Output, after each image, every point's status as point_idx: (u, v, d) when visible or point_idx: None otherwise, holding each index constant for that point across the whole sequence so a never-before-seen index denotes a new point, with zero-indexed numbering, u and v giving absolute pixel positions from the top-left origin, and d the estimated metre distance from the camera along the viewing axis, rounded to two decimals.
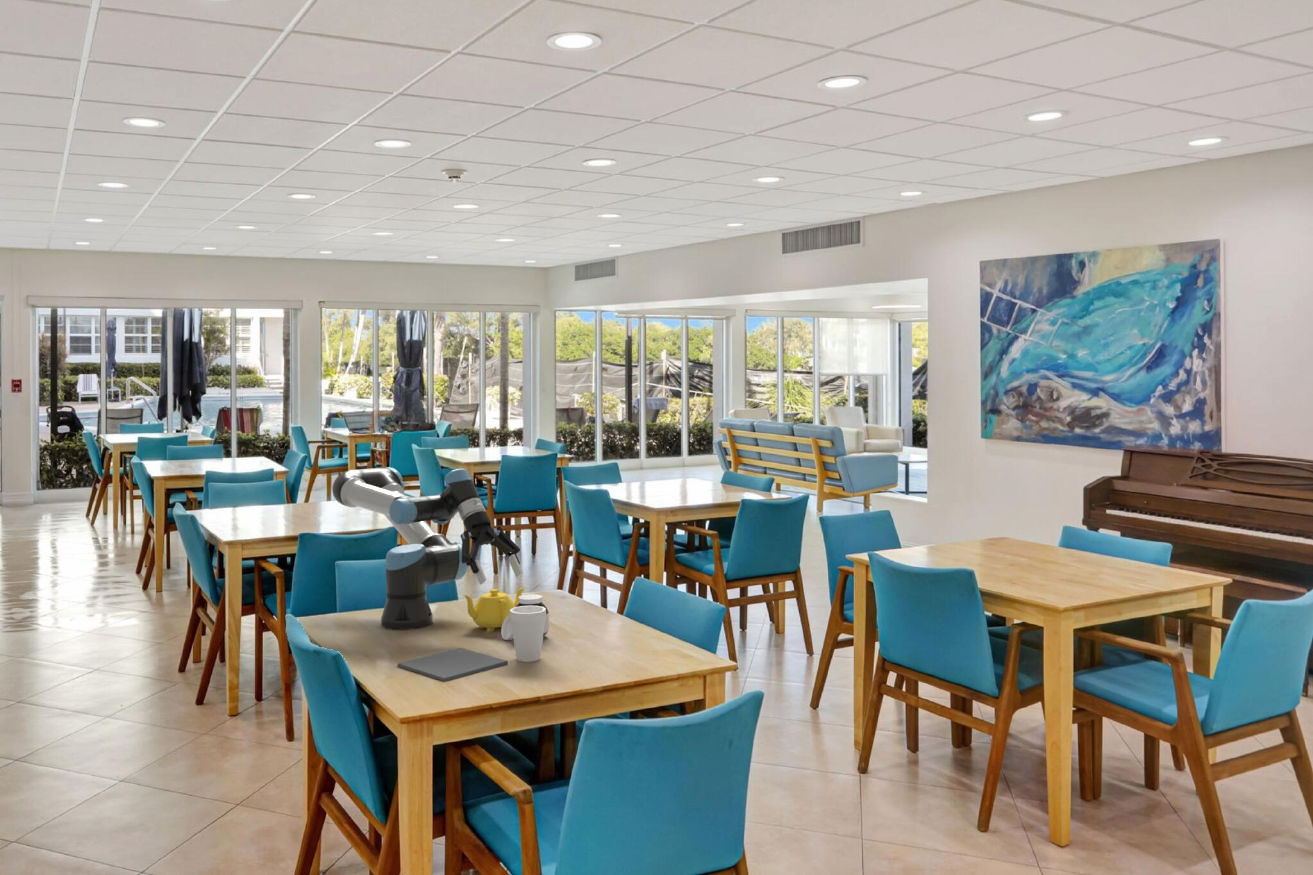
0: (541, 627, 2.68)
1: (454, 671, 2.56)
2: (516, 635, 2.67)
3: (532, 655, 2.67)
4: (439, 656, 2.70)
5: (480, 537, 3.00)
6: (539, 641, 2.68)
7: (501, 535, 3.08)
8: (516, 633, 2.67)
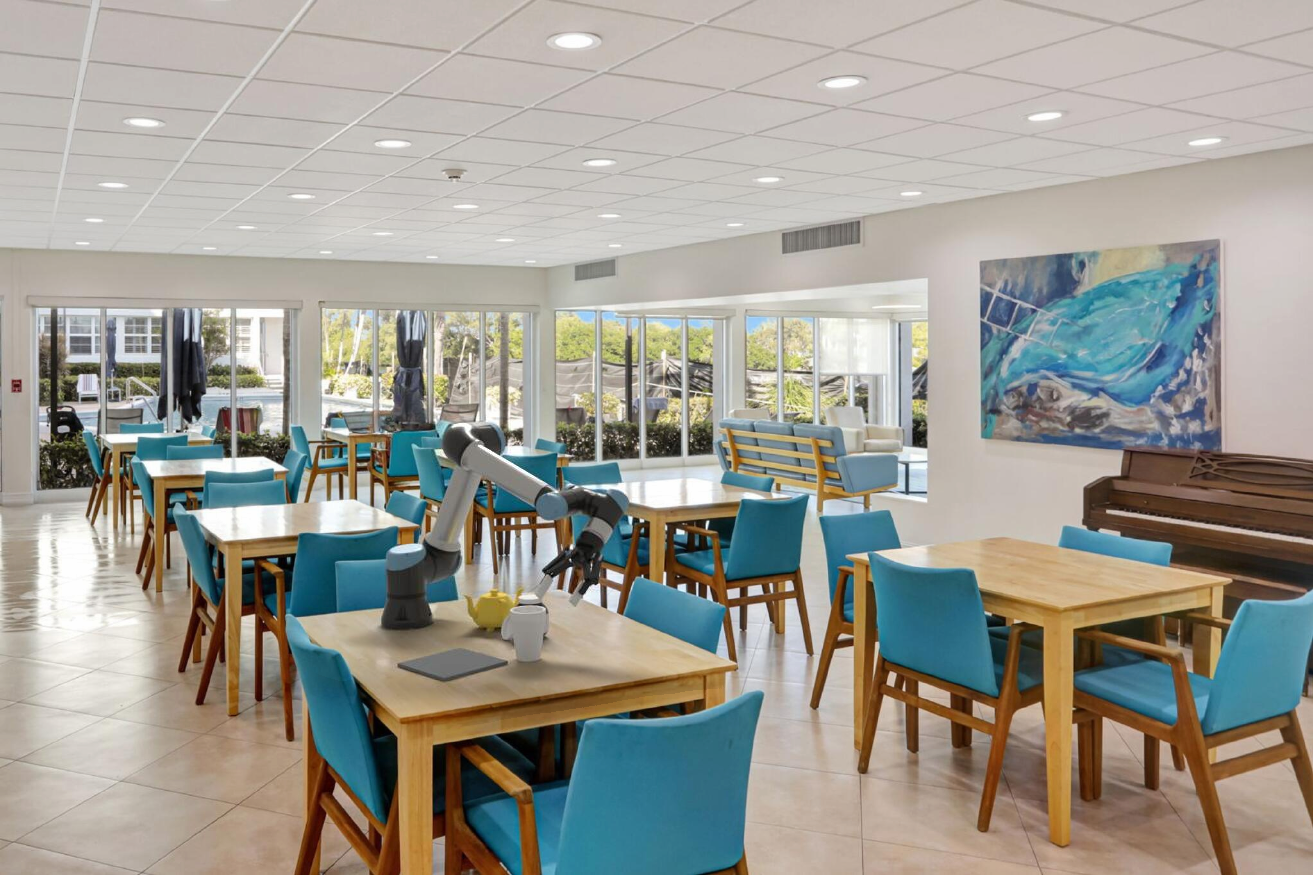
0: (541, 627, 2.68)
1: (454, 671, 2.56)
2: (516, 635, 2.67)
3: (532, 655, 2.67)
4: (439, 656, 2.70)
5: None
6: (539, 641, 2.68)
7: None
8: (516, 633, 2.67)
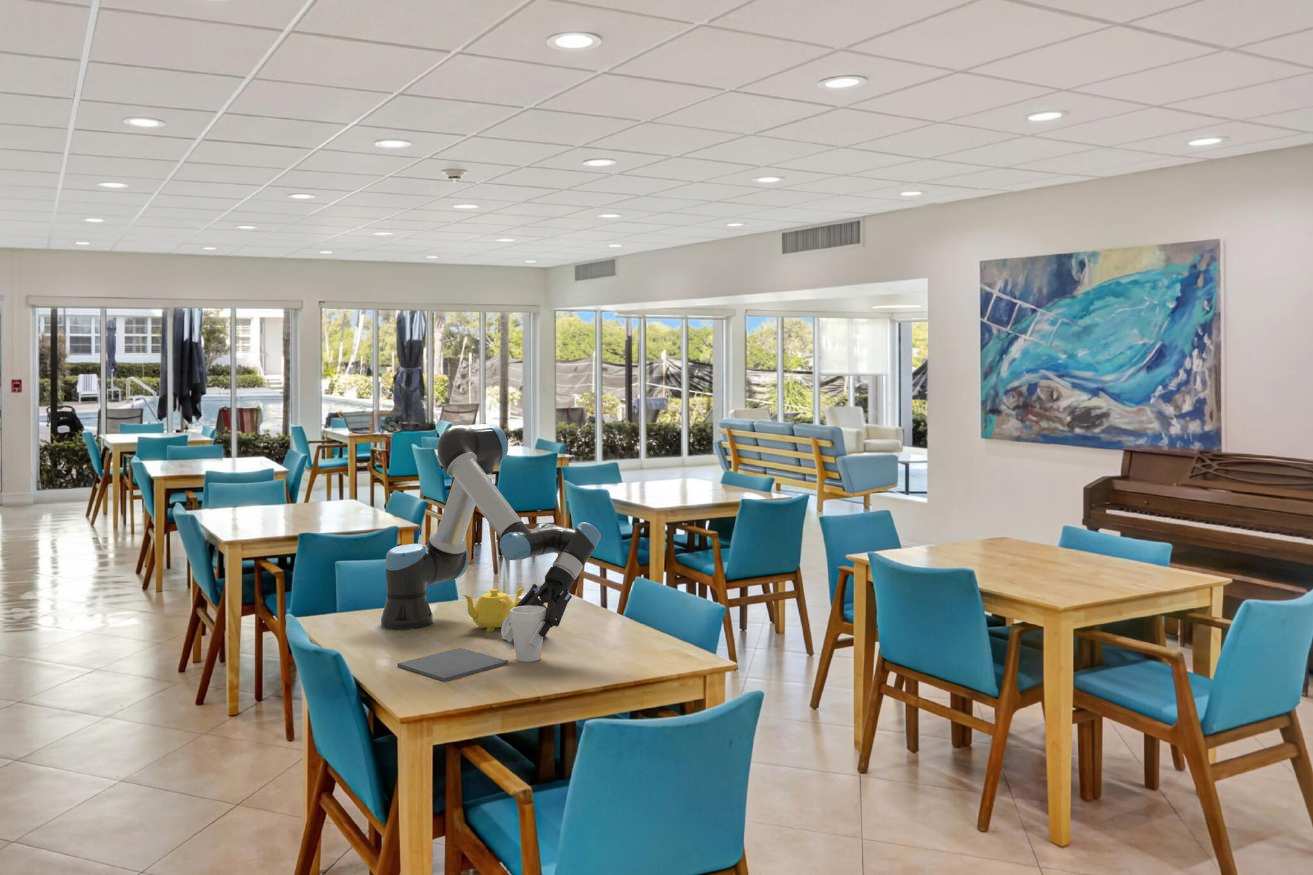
0: None
1: (454, 671, 2.56)
2: (516, 635, 2.67)
3: (532, 655, 2.67)
4: (439, 656, 2.70)
5: None
6: None
7: None
8: (516, 633, 2.67)
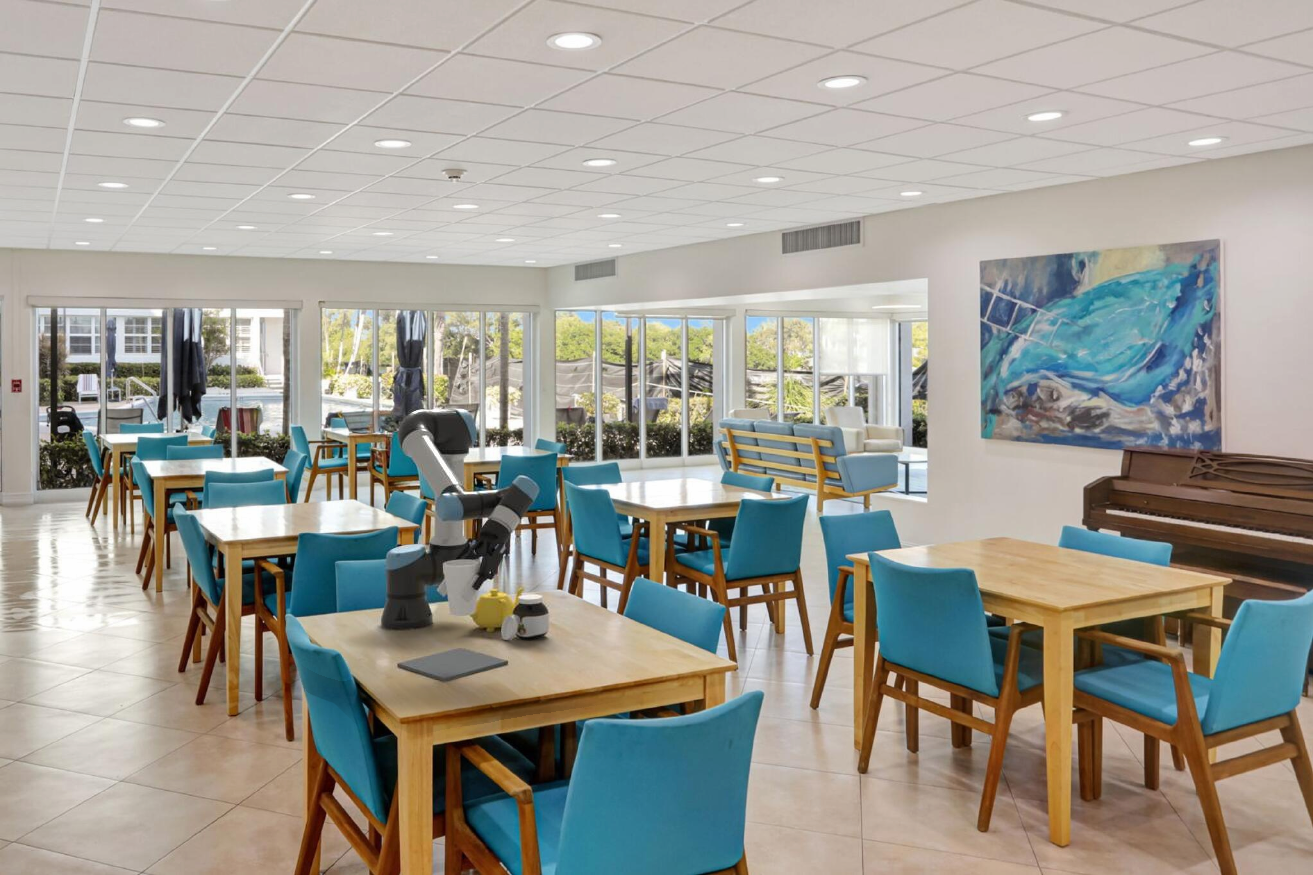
0: None
1: (454, 671, 2.56)
2: (449, 589, 2.61)
3: (466, 609, 2.61)
4: (439, 656, 2.70)
5: None
6: None
7: None
8: (449, 587, 2.60)
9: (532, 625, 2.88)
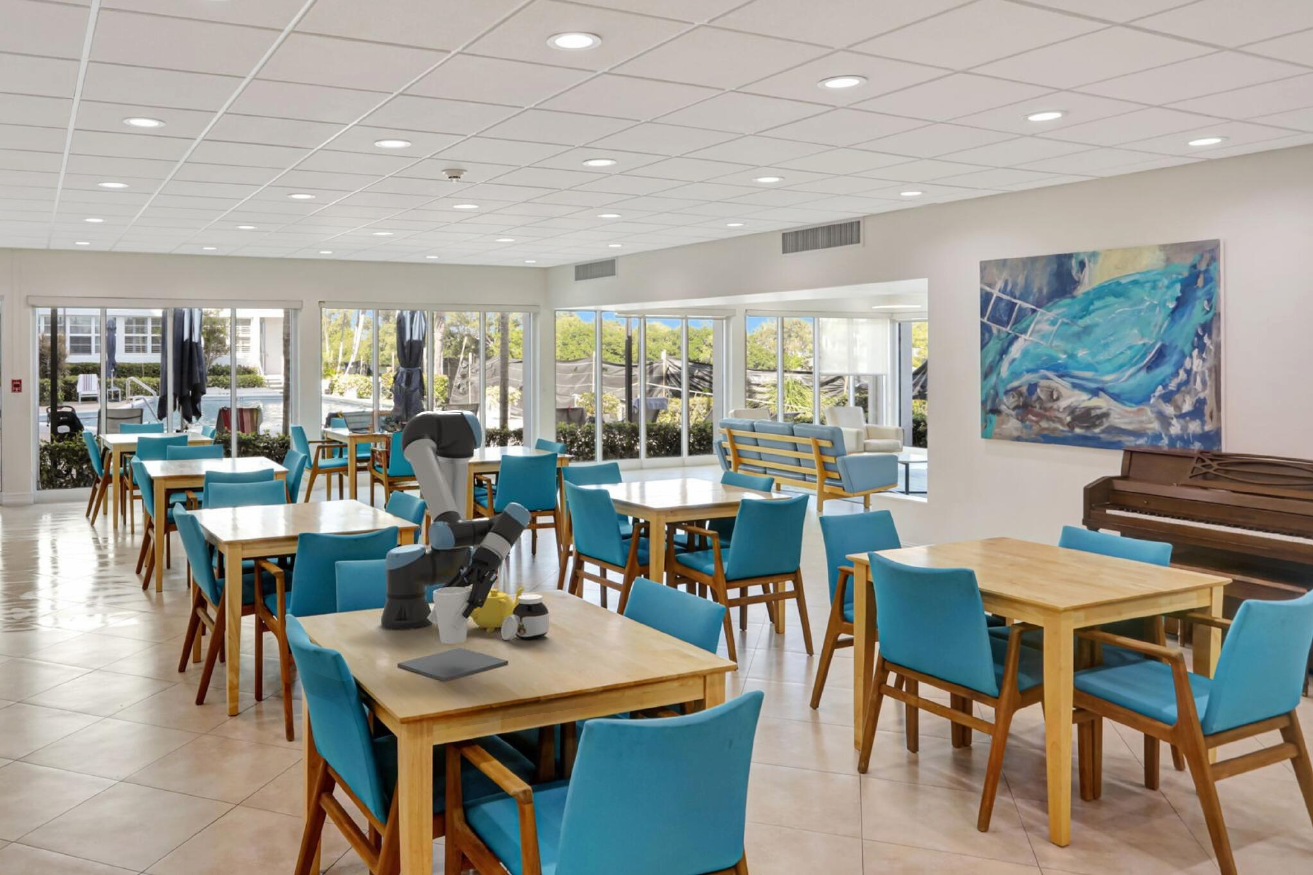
0: None
1: (454, 671, 2.56)
2: (439, 617, 2.60)
3: (456, 637, 2.60)
4: (439, 656, 2.70)
5: None
6: None
7: None
8: (439, 614, 2.60)
9: (532, 625, 2.88)
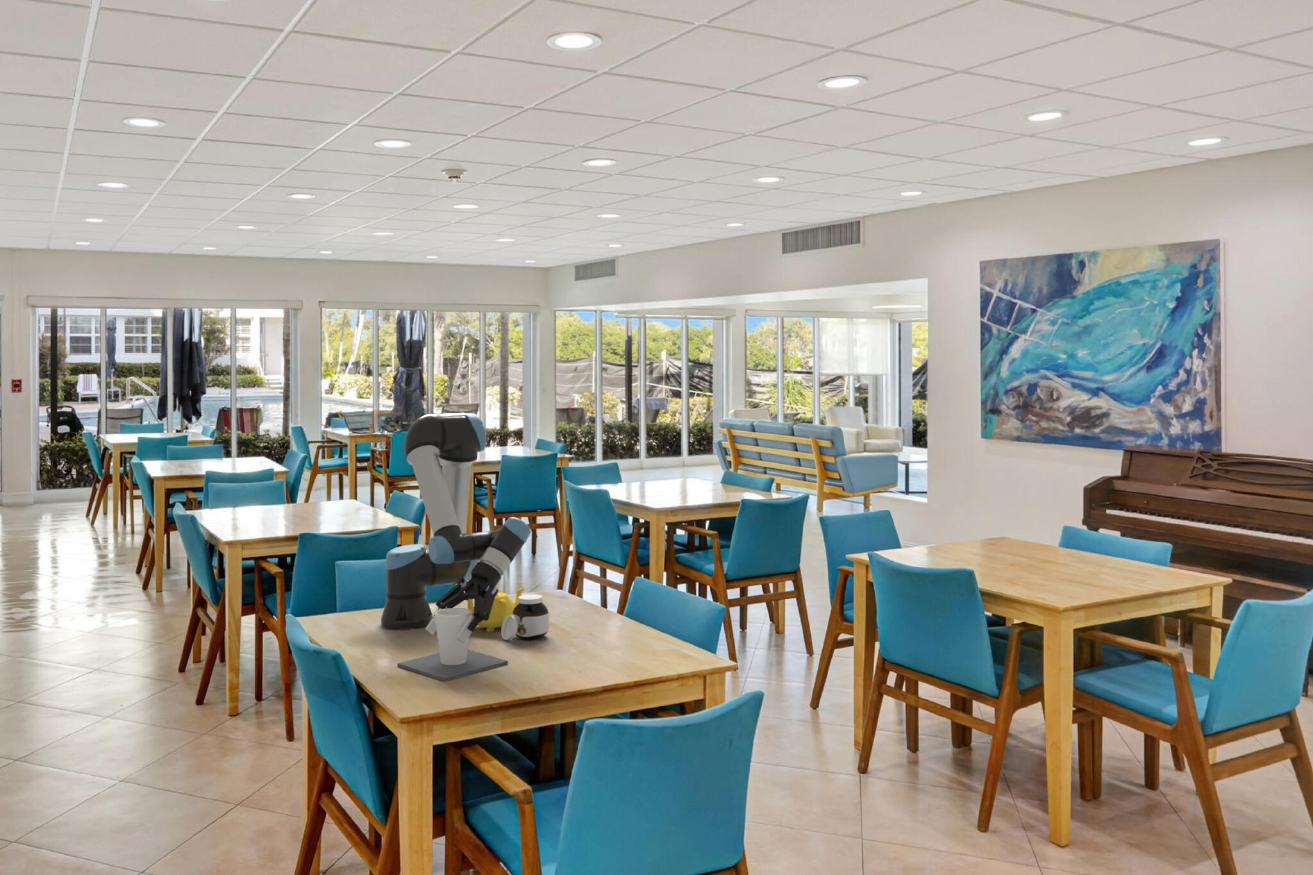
0: None
1: (454, 671, 2.56)
2: (440, 638, 2.61)
3: (456, 658, 2.61)
4: (439, 656, 2.70)
5: None
6: (464, 644, 2.62)
7: None
8: (440, 636, 2.61)
9: (532, 625, 2.88)
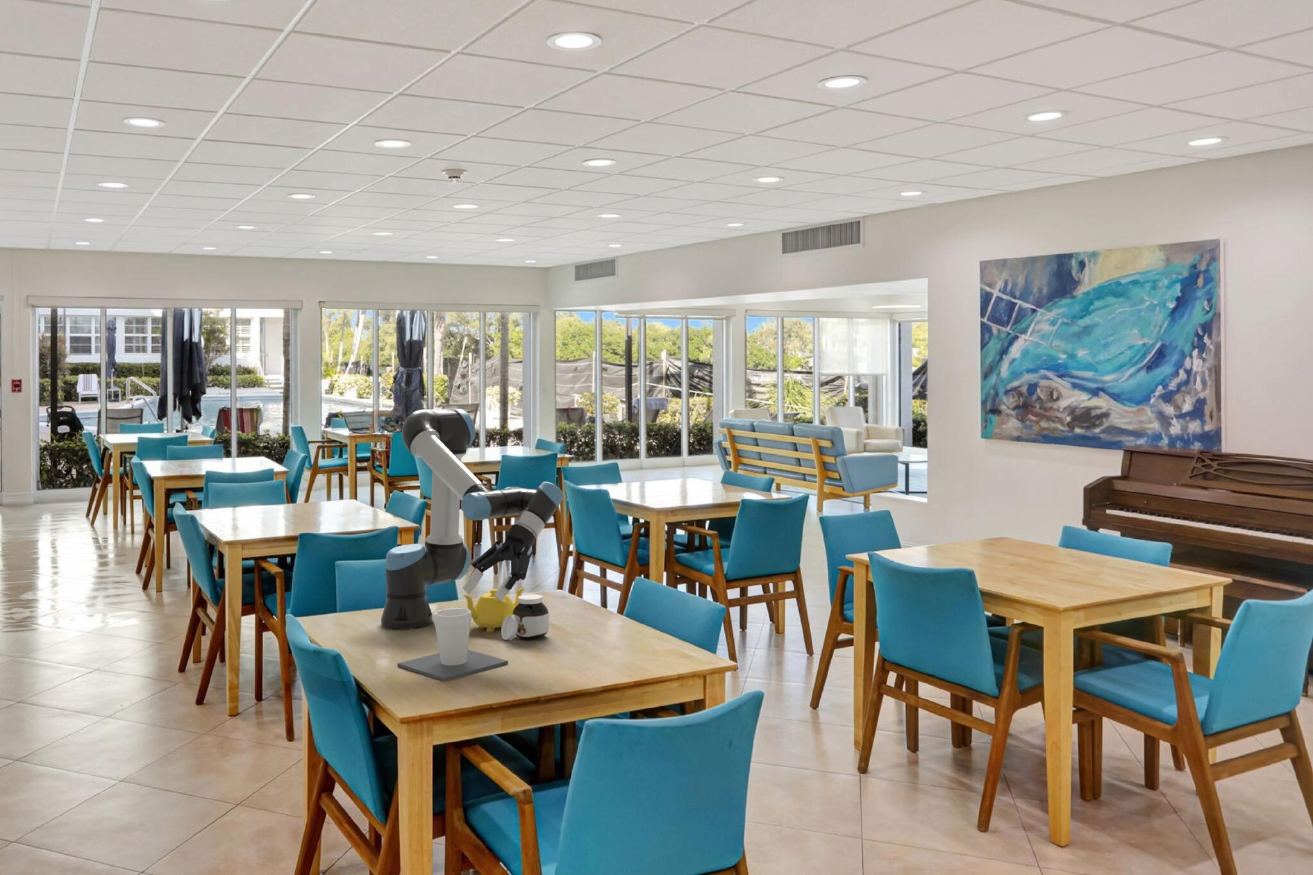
0: (466, 630, 2.62)
1: (454, 671, 2.56)
2: (440, 638, 2.61)
3: (456, 659, 2.61)
4: (439, 656, 2.70)
5: None
6: (463, 644, 2.62)
7: None
8: (440, 636, 2.61)
9: (532, 626, 2.88)
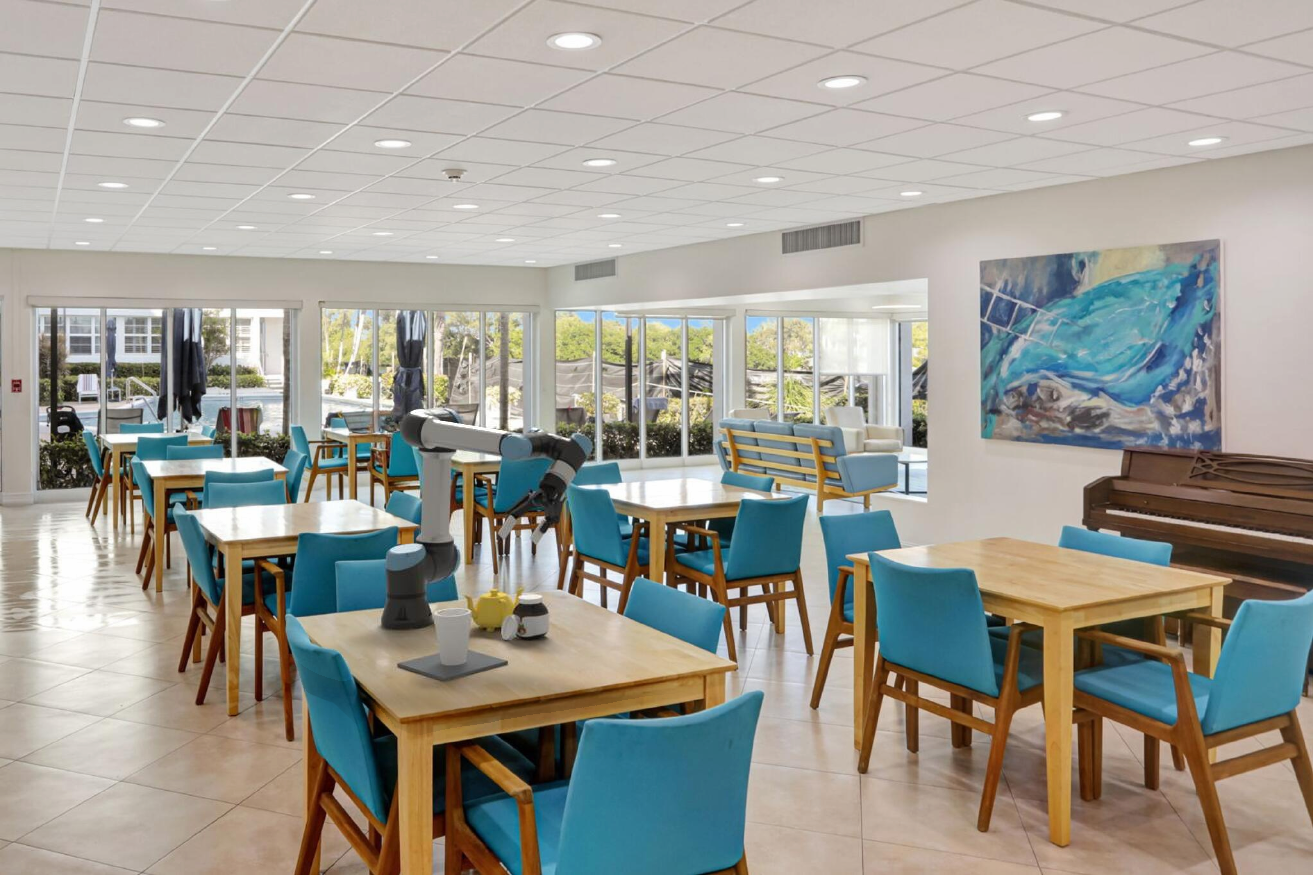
0: (466, 630, 2.62)
1: (454, 671, 2.56)
2: (440, 638, 2.61)
3: (456, 659, 2.61)
4: (439, 656, 2.70)
5: None
6: (463, 644, 2.62)
7: None
8: (440, 636, 2.61)
9: (532, 625, 2.88)
